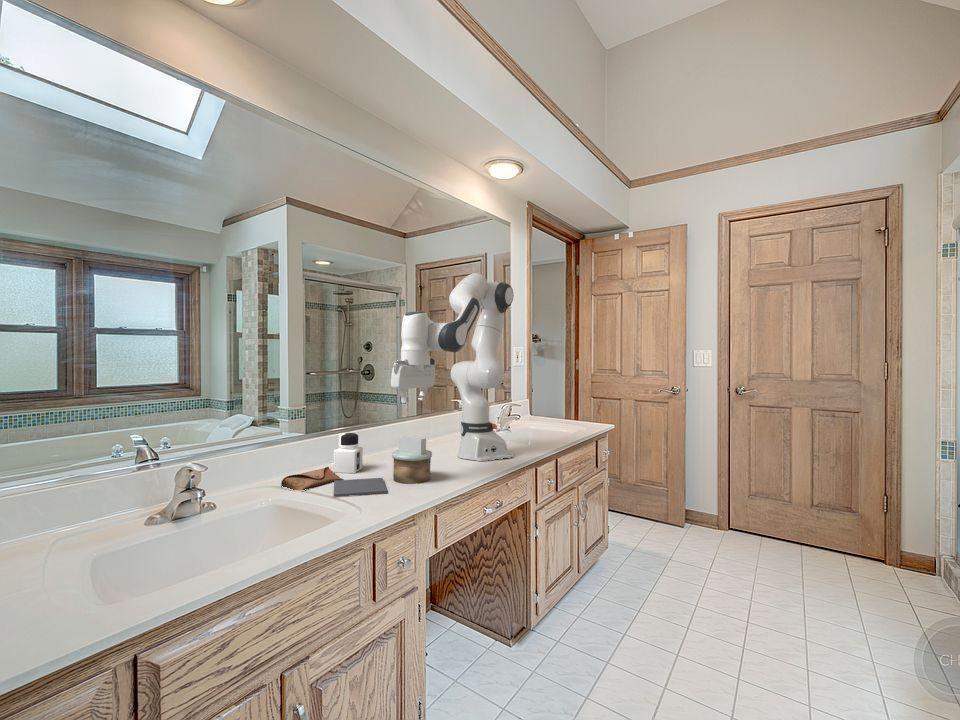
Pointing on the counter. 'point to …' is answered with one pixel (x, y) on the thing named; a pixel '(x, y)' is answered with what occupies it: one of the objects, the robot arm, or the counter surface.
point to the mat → (359, 487)
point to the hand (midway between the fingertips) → (413, 401)
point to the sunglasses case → (310, 479)
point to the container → (348, 454)
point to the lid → (412, 449)
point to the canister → (411, 471)
